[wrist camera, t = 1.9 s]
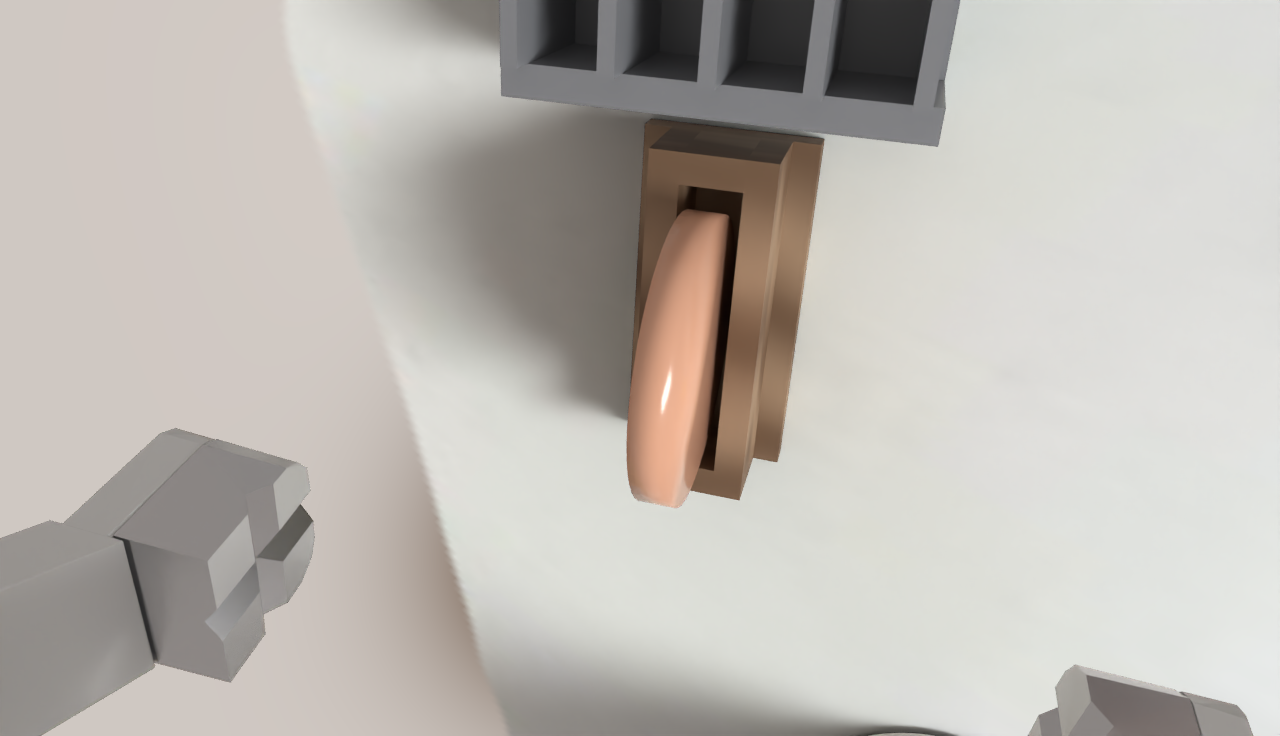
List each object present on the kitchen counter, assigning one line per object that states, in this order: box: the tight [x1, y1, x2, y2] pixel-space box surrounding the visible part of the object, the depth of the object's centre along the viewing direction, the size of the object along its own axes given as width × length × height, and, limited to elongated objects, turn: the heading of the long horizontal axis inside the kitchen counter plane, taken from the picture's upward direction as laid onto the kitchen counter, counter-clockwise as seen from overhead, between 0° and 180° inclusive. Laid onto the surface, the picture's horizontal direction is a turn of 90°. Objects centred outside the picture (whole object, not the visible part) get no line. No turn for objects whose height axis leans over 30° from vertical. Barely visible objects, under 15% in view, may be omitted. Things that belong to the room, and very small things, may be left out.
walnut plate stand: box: [630, 119, 824, 500], centre depth 40 cm, size 14×7×4 cm, turn 177°
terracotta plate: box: [627, 209, 735, 508], centre depth 36 cm, size 11×1×11 cm, turn 177°
